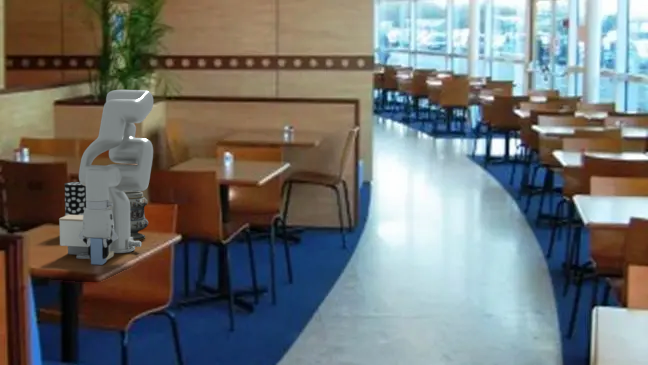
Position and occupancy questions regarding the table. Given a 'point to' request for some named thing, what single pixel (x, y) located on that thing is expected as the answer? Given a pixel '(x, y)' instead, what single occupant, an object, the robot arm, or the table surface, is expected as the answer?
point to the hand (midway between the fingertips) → (98, 257)
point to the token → (83, 256)
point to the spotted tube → (75, 198)
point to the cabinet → (72, 234)
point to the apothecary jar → (137, 213)
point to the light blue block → (98, 251)
